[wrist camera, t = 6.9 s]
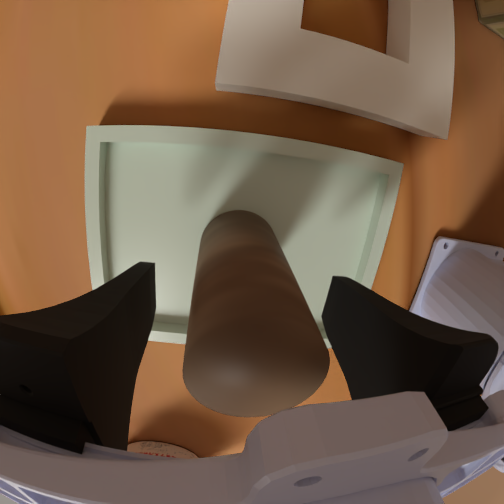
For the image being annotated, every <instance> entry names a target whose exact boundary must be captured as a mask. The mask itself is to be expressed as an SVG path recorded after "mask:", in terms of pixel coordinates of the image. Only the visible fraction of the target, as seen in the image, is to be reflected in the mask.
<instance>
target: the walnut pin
mask: <svg viewBox="0 0 504 504" xmlns="http://www.w3.org/2000/svg"><path fill="white" fill-rule="evenodd" d="M329 365H330V357H329V351H328V349H327V346H326V344H325V342H324V339H323V337H322V335H321V333H320V330H319V328H318V326H317V324H316V322H315V319H314V317H313V315H312V313H311V311H310V308H309V306H308V304H307V302H306V300H305V298H304V295H303V293H302V291H301V289H300V287H299V285H298V282H297V280H296V278H295V276H294V274H293V272H292V270H291V267H290V265H289V263H288V261H287V259H286V257H285V255H284V253H283V251H282V248H281V246H280V244H279V242H278V240H277V238H276V236H275V234H274V232H273V230H272V228H271V226H270V225H269V224H268V222H267V221H266V220H265V219H263V218H262V217H261V216H259V215H257V214H255V213H253V212H250V211H245V210H233V211H228V212H225V213H222V214H220V215H218V216H217V217H215V218H214V219H213V220H212V221H211V222H210V223H209V224H208V225H207V226H206V228H205V229H204V231H203V234H202V237H201V241H200V247H199V253H198V259H197V265H196V272H195V278H194V285H193V292H192V299H191V306H190V313H189V321H188V329H187V337H186V345H185V353H184V362H183V379H184V383H185V385H186V387H187V389H188V391H189V392H190V394H191V395H192V396H193V397H194V398H195V399H196V400H197V401H198V402H200V403H201V404H202V405H204V406H206V407H207V408H209V409H211V410H213V411H216V412H219V413H222V414H226V415H230V416H237V417H260V416H267V415H272V414H275V413H277V412H279V411H281V410H284V409H289V408H292V407H294V406H296V405H298V404H300V403H302V402H303V401H305V400H306V399H307V398H309V397H310V396H311V395H312V394H313V393H314V392H315V391H316V390H317V389H318V388H319V387H320V386H321V384H322V383H323V381H324V379H325V378H326V375H327V373H328V370H329Z"/></svg>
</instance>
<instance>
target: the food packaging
mask: <svg viewBox="0 0 504 504" xmlns="http://www.w3.org/2000/svg"><path fill="white" fill-rule="evenodd" d="M475 2H476V8H477V11H478V18H479V22H480V23H481V24H483V25H485V26H486V27H487V28H489V29H490V30H492V31H493V32H495V33H496V34H497V35H499V36H500V37H502V38H503V39H504V0H475Z"/></svg>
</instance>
